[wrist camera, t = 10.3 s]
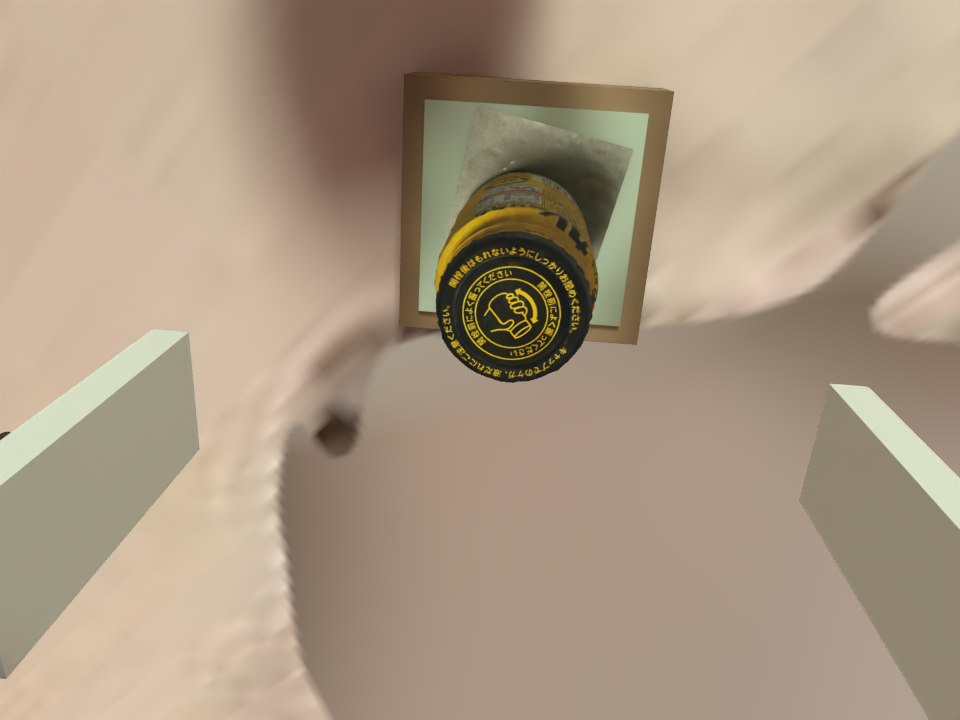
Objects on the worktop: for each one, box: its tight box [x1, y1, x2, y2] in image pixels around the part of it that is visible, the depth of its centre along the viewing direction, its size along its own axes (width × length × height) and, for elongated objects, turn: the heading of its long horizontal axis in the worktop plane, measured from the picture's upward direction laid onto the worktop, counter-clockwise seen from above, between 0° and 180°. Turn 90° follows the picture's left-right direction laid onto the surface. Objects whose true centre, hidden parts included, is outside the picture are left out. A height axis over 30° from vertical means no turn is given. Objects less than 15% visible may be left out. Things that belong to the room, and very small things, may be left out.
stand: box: [399, 72, 674, 345], centre depth 37 cm, size 12×12×3 cm
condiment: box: [433, 105, 634, 383], centre depth 30 cm, size 7×8×12 cm
